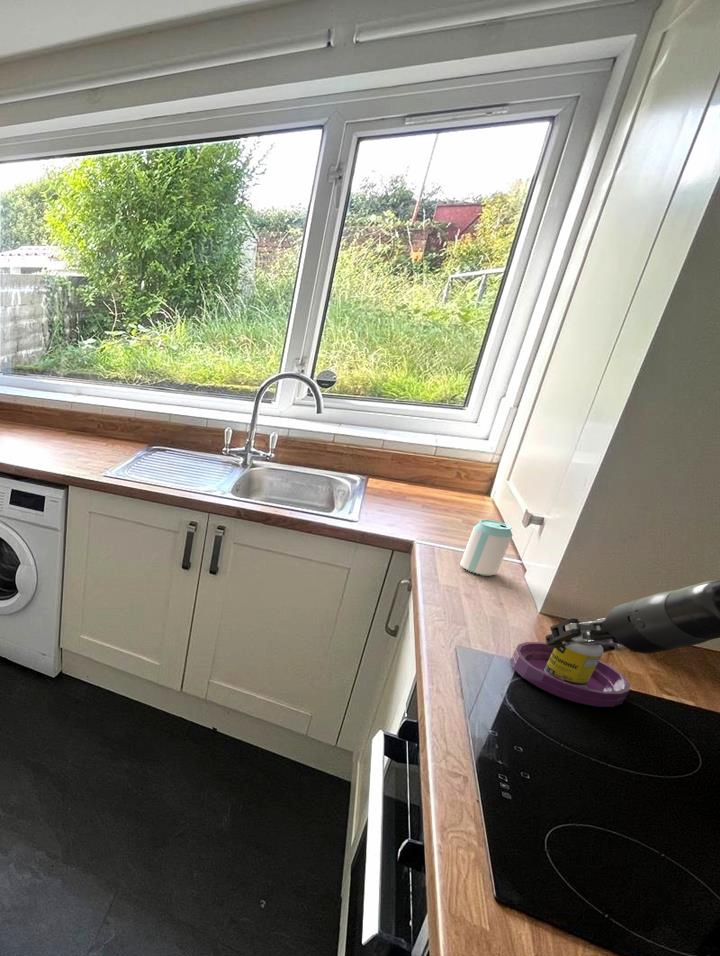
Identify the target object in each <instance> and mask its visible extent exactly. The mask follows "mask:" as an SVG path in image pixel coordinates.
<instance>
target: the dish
mask: <svg viewBox="0 0 720 956" xmlns="http://www.w3.org/2000/svg"><path fill="white" fill-rule="evenodd" d="M553 650H554V649H553V648H548V646H547V644H546V642H543V641H542V642H541V641H526V642H522V643H518V645H517V646H516V647H515V650H514V652H513V654H512V656H511V659H510V660H509V661H510V665H511V666H512V669H513V670H514V671H515V672H516V673H517V674H518V675H520V677H521V678H522V679H524V680H526V681H528V682H529V683H530V684H532V685H534V686H535V687H537V688H538V689H540V690H542V691H544V692H546V693H548V694H551V695H553V696H555V697H558V698H561V699H564V700H566V701H570V702H573V703H577V704H580V705H587V706H591V707H598V708H614V707H616V706H619V705H622V704H623V703H624V701H625V699H626V698H627V696H628V694H629V692H630V688H631V683H630V682H629V680H628V679H627V678H626V676H625V675H624V674H622V673H621V672H619V670H617V669H616V668H614V667H613V666H611V665H610V664H608V663H606V662H604V661H602V660H601V659H600V660H599V662H598V664H597V666H596V668H595V669H594V671H593V673H592V675H591V677H590V679H589V681H588V683H587V685H586V686H584V687H580V686H576V685H573V684H570V683H567V682H564V681H562V680H559V679H557V678H555V677H552V676H550V675H548V674H546V673H545V671H544V669H545V667H546V665H547V662H548V660H549V658H550V656H551V654H552V652H553Z"/></svg>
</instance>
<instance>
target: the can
mask: <svg viewBox="0 0 720 956" xmlns="http://www.w3.org/2000/svg"><path fill="white" fill-rule="evenodd" d="M512 538H513V532H512V526H511V525H509V524H507V523H505V522H501V521H498V520H493V519H481V520H480V521H479V522H478V523H477V524H476V525H474V526H473V529H472V531H471V533H470V536H469V539H468V542H467V545H466V547H465V550H464V553H463V555H462V557H461V560H460V563H459V565H460V566H461V568H463V569H464V568H465V569H466V570H465V569H464V570H465V571H466V572H468V573H471V572H473V573H472V574H474V573H476V574H474V575H477V576H483V577H491V576H494V575H497V574H498V572H499V570H500V567H501V565H502V563H503V560H504V557H505V555H506V553H507V550H508V548H509V545H510V543H511V541H512ZM467 570H468V571H467ZM469 571H471V572H469ZM478 574H480V575H478Z"/></svg>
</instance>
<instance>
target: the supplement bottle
mask: <svg viewBox="0 0 720 956" xmlns="http://www.w3.org/2000/svg"><path fill="white" fill-rule="evenodd" d="M587 635H588V639H589V640H592V639H591V638H590V634H589V632H587ZM572 639H577V637H575V638H572ZM603 654H604V653H603V647H602V646H601V645H593V646H585V645H581V644H571V645H567V646H563V647H559V648H555V649H554V650H553V652H552V654H551V656H550V658H549V660H548V662H547V665H546V667H545V669H544V671H545V673H546V674H548V675H550V676H552V677H555V678H557V679H559V680H562V681H564V682H567V683H570V684H573V685H576V686H580V687H584V686H586V685H587V683H588V681H589V679H590V677H591V675H592V673H593V671H594V669H595V668H596V666H597V664H598V662H599V660H600V661H601V658H602V657H603Z"/></svg>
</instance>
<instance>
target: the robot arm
mask: <svg viewBox="0 0 720 956" xmlns="http://www.w3.org/2000/svg"><path fill="white" fill-rule="evenodd" d="M579 621H580V620H579V619H578V618H574V617H571V618H568V619H565V620H562V621H561V622H558V623H556V624H554V625H551V626H550V627H549V628H550V631H551V633H550V634H547V635H545V637H544V638H545V643H546V644H547V646H548V648H553V649H555V648H559V647H563V646H567V645H571V644H581V645H585V646H593V645H601V646H602V647H603V654H604V653H608V652H612V651H614V652H622V651H623V652H624V651H630V652H633V653H639V654H656V653H661V652H667V651H672V650H675V649H676V650H677V649H680V648H681V649H682V648H686V647H691V646H696V645H700V644H704V643H707V642H709V641H711V640H716V639H720V579H714V580H707V581H703V582H699V583H696V584H692V585H689V586H685V587H682V588H679V589H674V590H668V591H662V592H658V593H655V594H651V595H648V596H645V597H641V598H637V599H635V600H630V601H627V602H625V603H621V604H617V605H616V606H614V607H613V608H612V609H611V610H610V611H609V613H608V614H607V616H606V617H604V618H598V619H596V620H594V621H586V622H585V621H584V622H579ZM587 632H589V634H590V638H591V639H592V640H589V639H588V635H587ZM575 637H577V639H572V638H575Z"/></svg>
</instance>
